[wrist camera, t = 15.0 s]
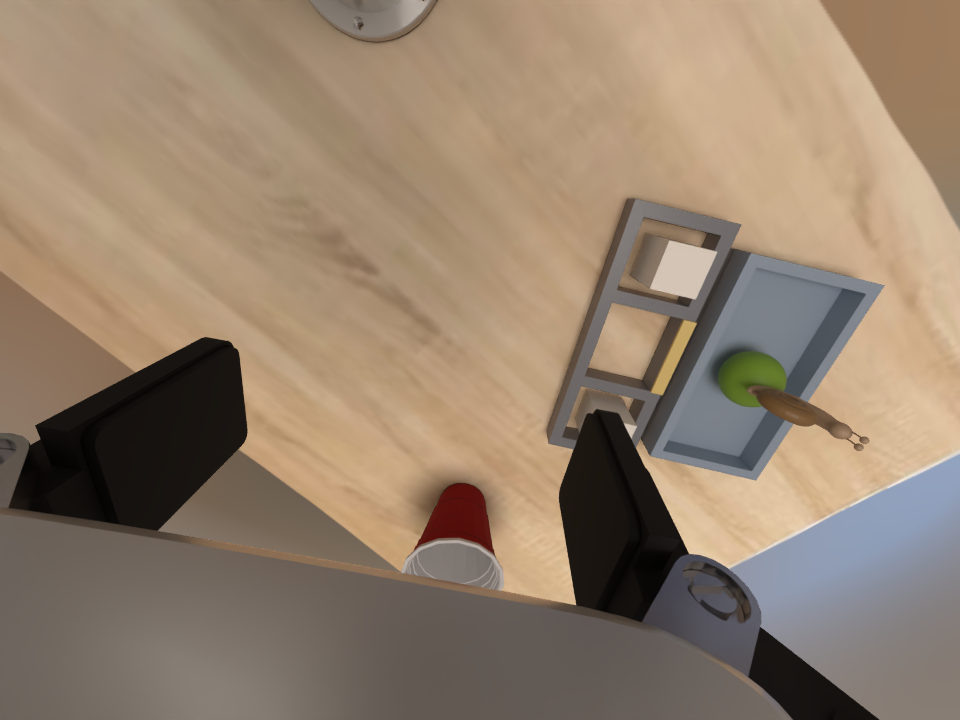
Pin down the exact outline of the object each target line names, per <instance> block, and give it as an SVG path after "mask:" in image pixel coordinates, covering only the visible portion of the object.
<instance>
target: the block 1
mask: <svg viewBox="0 0 960 720" xmlns="http://www.w3.org/2000/svg"><path fill="white" fill-rule="evenodd" d="M596 409H600V410H605V411H611V412H616V413H619V415H620V416H621V419H622V421H623V423H624V425H625V427H626V429H627V431H628V433H629V435H630V437H631V438H632V436H633V434H634V432H635V430H636V427H637V425H636V424H635V422H634V420H633V418H632V416H631V414H630V413H629V411H628V409H627V407H626V405H625V403H624V402H623V400H622V398H621V397H620V396H615V395H611V394H607V393H603V392H598V391H594V390H590V389H586V391H585V394H584V396H583V399H582V402H581V404H580V407H579V409H578V412H577V415H576V417H575V420H576V423H577V427H578V430H579V433H580V430H581V428H582V425H583V422H584V419H585V417H586V415H587V414H588V413H592V414H593V412H594V411H595V410H596Z"/></svg>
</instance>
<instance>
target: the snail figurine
mask: <svg viewBox="0 0 960 720" xmlns="http://www.w3.org/2000/svg"><path fill="white" fill-rule="evenodd" d="M786 383H787V378H786V373H785V370H784V368H783V367H782V365H781V364H780V363H779V362H778V361H777V360H776V359H775V358H773V357H772V356H770V355H768V354H765V353H762V352H757V351H746V352H741V353H737V354H735V355H733V356H731V357H730V358H728V359H727V360H726V361H725V362H724V363H723V364H722V366H721V367H720V370H719V373H718V384H719V387H720V390H721V391H722V393H723V394H724V395H725V396H726V397H727V398H728V399H729V400H730V401H732V402H733V403H735V404H738V405H740V406H744V407H762V406H763V407H764V408H765V409H766V410H768V411H769V412H771V413H772V414H774V415H776V416H778V417H779V418H781V419H784V420H786V421H788V422H790V423H793V424H796V425H799V426H812V425H814V424H816V425H818V426H820V427H822V428H823V429H825V430H827V431H828V432H829V433H830V434H831V435H832V436H834V437H835V438H838V439H847V440H848V441H850V442H851V443H853V442H852V441H851V440H849V439H848V438H850V437H851V436H852V433H853V434H855V435H857V434H856V433H854V432H853V431H852V429H851V428H850V427H849V426H848V425H846V424H844V423H842V422H839V421H837V420H836V419H835V418H834V417H832V416H831V415H829V414H828V413H826V412H825V411H823V410H821V409H820V408H818V407H816V406H814V405H812V404H810V403H808V402H806V401H804V400H802V399H801V398H799V397H797V396H794V395H791V394H788V393H785V392H784V390H785V387H786ZM857 436H858V437H860V436H859V435H857ZM859 440H860V442H861V443H863V444H867V443H869V439H868V438H867V437H860V439H859ZM853 444H854V449H855V450H857V451H861V450H863V448H864V447H863V445H861V444H855V443H853Z"/></svg>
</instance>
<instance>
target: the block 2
mask: <svg viewBox="0 0 960 720" xmlns="http://www.w3.org/2000/svg"><path fill="white" fill-rule="evenodd" d="M716 254H717V252H716V251H712V250H709V249H705V248H701V247H698V246H694V245H691V244H687V243H683V242H679V241H675V240H671V239H666V238H662V237H658V236H654V235H650V234H646V233H645V235H644V238H643V241H642V243H641V246H640V249H639V251H638V254H637V257H636V259H635V262H634V265H633V267H632V270H631V272H630V276H632V277H633V278H635V279H636V280H638V281H639V282H641V283H642V284H644V285H645V286H647V287H648V288H650V289H653V290H657V291H662V292H666V293H670V294H674V295H678V296H683V297H687V298H691V299H695V300H696V298H697V295H698V293H699V291H700V289H701V287H702V285H703V282H704V280H705V278H706V276H707V274H708V272H709V269H710V267H711V265H712V263H713V261H714V259H715V256H716Z"/></svg>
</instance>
